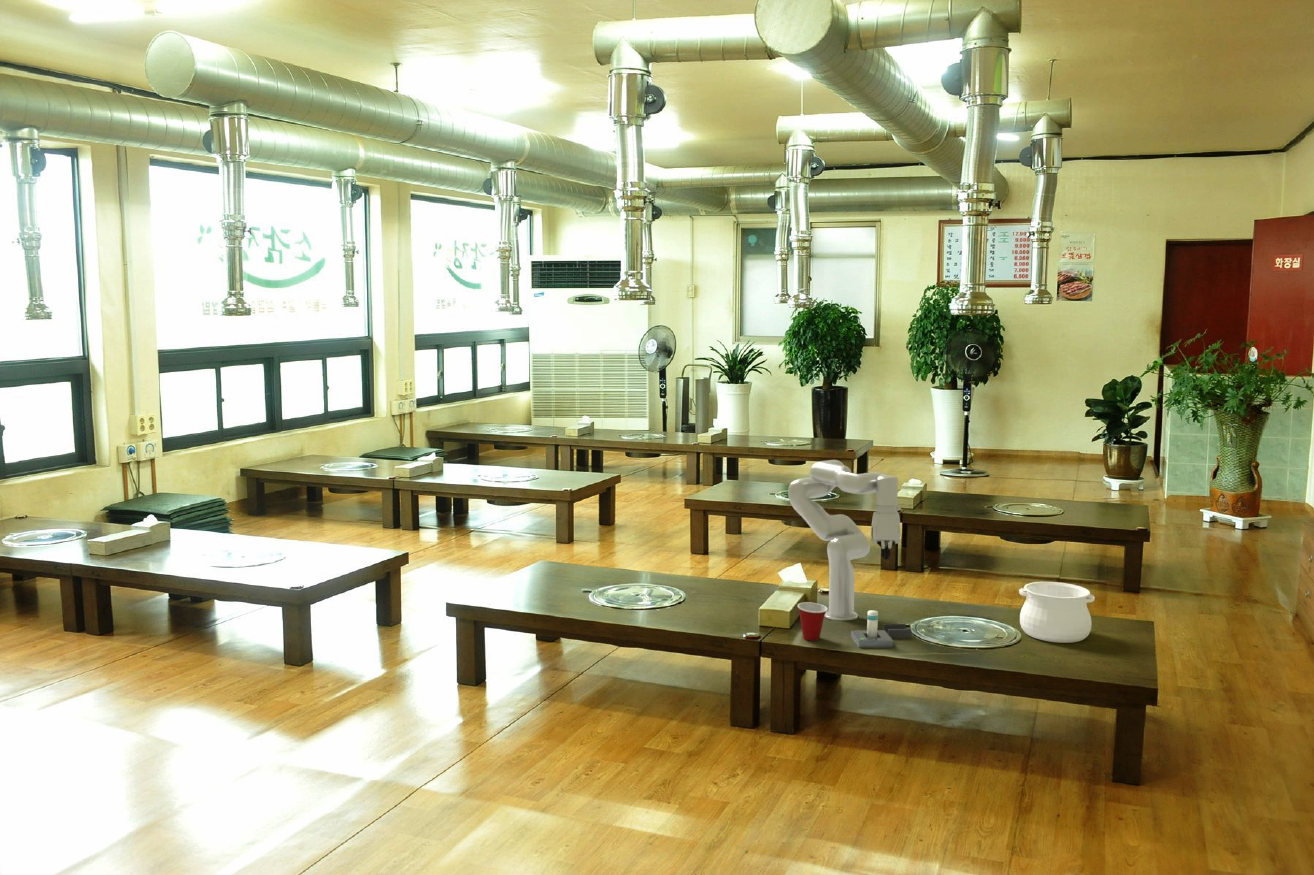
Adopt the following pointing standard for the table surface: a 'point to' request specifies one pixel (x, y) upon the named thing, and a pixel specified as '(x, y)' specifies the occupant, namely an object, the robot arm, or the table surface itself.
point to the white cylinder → (872, 624)
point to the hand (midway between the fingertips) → (885, 558)
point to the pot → (1056, 612)
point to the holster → (897, 630)
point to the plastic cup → (811, 619)
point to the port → (871, 639)
